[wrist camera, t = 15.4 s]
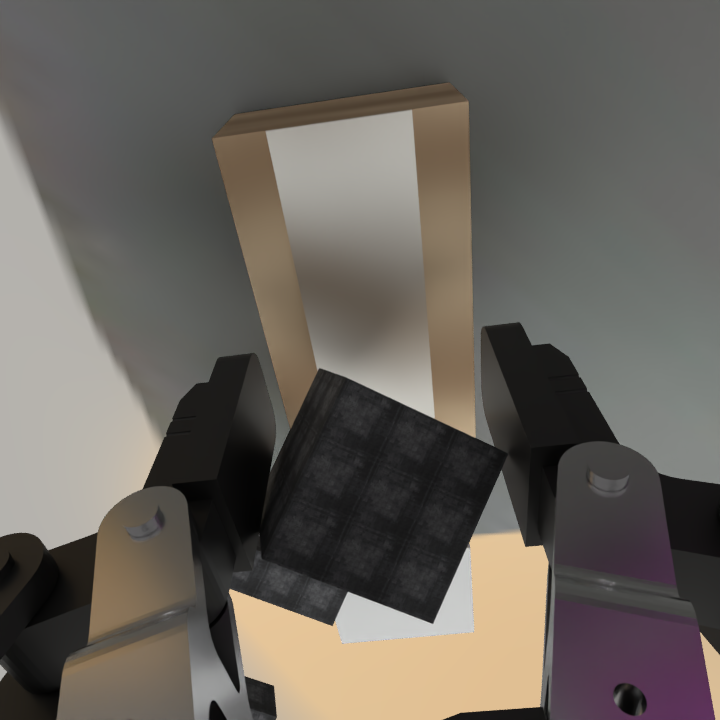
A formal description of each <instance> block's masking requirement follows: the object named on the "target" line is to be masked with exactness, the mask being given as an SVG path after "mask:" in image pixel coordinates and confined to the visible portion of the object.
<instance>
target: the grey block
mask: <svg viewBox="0 0 720 720" xmlns="http://www.w3.org/2000/svg"><path fill="white" fill-rule="evenodd" d="M470 558H471V557H470V545H469V544H468V546H467V548H466V551H465V553H464V555H463V557H462V560H461V562H460V564H459V567H458V569H457V571H456V573H455V576H454V578H453V580H452V582H451V585H450V587H449V589H448V591H447V594H446V596H445V598H444V600H443V603H442V605H441V607H440V609H439V612H438V614H437V616H436V619H435V621H434V623H433V624H431V623H429V622H426V621H424V620H421V619H418V618H416V617H413V616H410V615H408V614H405V613H402V612H400V611H397V610H395V609H392V608H389V607H387V606H384V605H381V604H379V603H376V602H374V601H371V600H368V599H366V598H363V597H360V596H358V595H355V594H352V593H350V592H348V593H347V595H346V597H345V599H344V601H343V604H342V606H341V608H340V610H339V613H338V615H337V617H336V619H335V622H336V625H337V628H338V631H339V635H340V638H341V641H342V644H344V643H355V642H366V641H377V640H389V639H401V638H412V637H424V636H435V635H447V634H457V633H469V632H474V620H473V598H472V577H471V559H470Z"/></svg>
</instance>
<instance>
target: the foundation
mask: <svg viewBox="0 0 720 720" xmlns="http://www.w3.org/2000/svg"><path fill="white" fill-rule="evenodd" d="M212 141H213V145H214V148H215V152H216V156H217V160H218V163H219V167H220V171H221V174H222V178H223V182H224V185H225V189H226V193H227V197H228V200H229V204H230V208H231V211H232V215H233V219H234V222H235V226H236V230H237V234H238V237H239V241H240V245H241V248H242V252H243V256H244V259H245V263H246V267H247V271H248V274H249V278H250V282H251V285H252V289H253V293H254V297H255V300H256V304H257V308H258V311H259V315H260V319H261V322H262V326H263V330H264V334H265V337H266V341H267V345H268V348H269V352H270V356H271V359H272V363H273V367H274V371H275V374H276V378H277V382H278V385H279V389H280V393H281V396H282V400H283V404H284V408H285V411H286V415H287V419H288V422H289V426H290V429H291V427H292V425H293V423H294V421H295V418H296V416H297V414H298V412H299V410H300V408H301V406H302V404H303V401H304V399H305V397H306V395H307V393H308V391H309V389H310V386H311V384H312V382H313V380H314V378H315V376H316V374H317V372H318V369H319V368H321V369H324V370H327V371H330V372H332V373H335V374H338V375H341V376H344V377H347V378H349V379H351V380H353V381H355V382H357V383H359V384H362V385H364V386H366V387H368V388H370V389H372V390H374V391H376V392H379V393H381V394H383V395H385V396H387V397H389V398H391V399H393V400H396V401H398V402H400V403H402V404H404V405H406V406H408V407H410V408H413V409H415V410H417V411H419V412H421V413H423V414H425V415H428V416H430V417H432V418H434V419H436V420H438V421H440V422H442V423H445V424H447V425H449V426H451V427H453V428H455V429H457V430H459V431H462V432H464V433H466V434H468V435H470V436H472V437H474V438H476V435H475V386H474V337H473V288H472V240H471V191H470V142H469V101H468V100H467V99H466V98H465V97H464V96H463V95H462V94H461V93H460V92H459V91H458V90H457V89H456V88H455V87H454V86H453V85H452V84H451V83H450V82H449V83H442V84H435V85H429V86H422V87H415V88H408V89H402V90H395V91H388V92H381V93H375V94H368V95H361V96H354V97H348V98H341V99H334V100H327V101H321V102H314V103H307V104H300V105H294V106H287V107H280V108H273V109H267V110H260V111H253V112H246V113H240V114H234V115H233V117H232V118H231V119H230V120H229V121H228V122H227V123H226V124H225V125H224V126H223V127H222V128H221V129H220V130H219V131H218V132H217V133H216V135H215V136H214V137H213V138H212Z"/></svg>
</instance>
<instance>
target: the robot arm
mask: <svg viewBox="0 0 720 720" xmlns="http://www.w3.org/2000/svg"><path fill="white" fill-rule="evenodd" d="M481 388H482V400H483V407H484V412H485V416H486V420H487V423H488V426H489V430H490V433H491V436H492V439H493V443H494V446H495V447H496V448H498V449H500V450H502V451H504V452H506V453H508V456H507V458H506V460H505V462H504V465H503V467H502V472H503V475H504V479H505V482H506V485H507V488H508V492H509V495H510V498H511V501H512V505H513V508H514V511H515V514H516V518H517V521H518V524H519V527H520V531H521V534H522V537H523V540H524V544H525V546H526V547H528V546H539V545H543V547H544V549H545V552H546V555H547V558H548V561H549V565H548V576H547V594H546V614H545V634H544V635H545V636H544V654H543V675H542V691H541V704H540V707H536V708H522V709H508V710H494V711H480V712H467V713H459V714H457V715H454V716H451V717H449V718H446V719H444V720H715V715H714V710H713V704H712V699H711V693H710V688H709V682H708V676H707V671H706V665H705V659H704V654H703V648H702V642H701V637H700V632H701V633H702V634H703V636H704V637H705V638H706V639H707V640H708V642H709V643H710V644H711V645H712V646H713V647H714V649H715V650H716V651H717V652H718V653H719V654H720V484H714V483H707V482H699V481H692V480H685V479H679V478H674V477H669V476H666V475H662V474H660V473H658V472H657V470H656V469H655V467H654V466H653V465H652V463H651V462H650V461H649V460H648V459H646V458H645V457H644V456H643V455H641V454H640V453H638V452H636V451H634V450H633V449H631V448H628V447H626V446H623V445H620V444H619V443H618V441H617V439H616V437H615V436H614V434H613V432H612V431H611V429H610V427H609V425H608V424H607V422H606V420H605V419H604V417H603V415H602V413H601V412H600V410H599V408H598V407H597V405H596V403H595V401H594V400H593V398H592V396H591V394H590V393H589V392H587V388H586V386H585V384H584V382H583V381H582V379H581V377H580V378H579V374H578V372H577V370H576V369H575V367H574V365H573V364H572V362H571V360H570V358H569V357H568V356H566V355H565V354H564V353H562V352H561V351H559V350H558V349H556V348H555V347H554V346H552V345H551V344H542V345H533V346H532V345H531V343H530V341H529V339H528V337H527V335H526V333H525V331H524V329H523V327H522V325H521V324H520V323H519V322H518V323H509V324H501V325H492V326H484V327H482V330H481ZM172 419H173V422H171V423H170V425H169V428H168V430H167V433H166V435H167V437H164V440H163V442H162V444H161V447H160V449H159V452H158V454H157V456H156V459H155V461H154V464H153V466H152V468H151V471H150V473H149V475H148V478H147V480H146V483H145V485H144V487H143V489H142V490H140V491H137V492H135V493H133V494H131V495H129V496H127V497H126V498H124V499H123V500H121V501H120V502H119V503H117V504H116V505H115V506H114V507H113V508H112V509H111V510H110V511H109V512H108V513H107V515H106V516H105V517H104V519H103V521H102V522H101V525H100V527H99V530H98V532H97V533H95V534H93V535H90V536H88V537H85V538H82V539H79V540H76V541H74V542H70V543H68V544H65V545H62V546H59V547H57V548H54V549H51V550H47V549H46V547H45V546H44V544H43V543H42V542H41V540H40V539H39V538H38V537H36V536H35V535H32V534H29V533H14V534H10V535H6V536H3V537H0V665H1V666H2V667H3V668H4V669H5V670H6V671H7V673H6V675H5V676H4V677H3V679H2V680H1V681H0V720H253V717H252V714H251V710H250V706H249V701H248V696H247V689H246V683H245V677H244V670H243V664H242V658H241V652H240V645H239V640H238V633H237V627H236V620H235V614H234V608H233V603H232V599H231V597H230V595H229V589H230V584H231V579H232V574H233V572H243V571H253V566H254V560H255V554H256V549H257V543H258V537H259V531H260V526H261V520H262V514H263V508H264V502H265V497H266V491H267V485H268V479H269V474H270V468H271V462H272V456H273V450H274V445H275V438H276V424H275V416H274V411H273V407H272V404H271V400H270V397H269V393H268V390H267V386H266V383H265V379H264V376H263V372H262V369H261V365H260V362H259V359H258V357H257V355H256V354H255V353H250V354H242V355H234V356H225V357H219V358H218V359H217V361H216V364H215V367H214V369H213V372H212V375H211V377H210V380H209V382H206V383H198V384H196V385H195V386H194V387H193V388H192V389H191V390H190V391H189V392H188V393H187V394H186V395H185V396H184V397H183V398H182V399H181V400H180V402H179V404H178V406H177V409H176V411H175V414H174V416H173V418H172Z"/></svg>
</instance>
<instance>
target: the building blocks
mask: <svg viewBox="0 0 720 720" xmlns="http://www.w3.org/2000/svg"><path fill="white" fill-rule="evenodd" d="M507 456H508V453H506V452H504V451H502V450H500V449H498V448H496V447H494V446H491V445H489V444H487V443H485V442H483V441H481V440H479V439H477V438H474V437H472V436H470V435H468V434H466V433H464V432H462V431H459V430H457V429H455V428H453V427H451V426H449V425H447V424H445V423H442V422H440V421H438V420H436V419H434V418H432V417H430V416H428V415H425V414H423V413H421V412H419V411H417V410H415V409H413V408H410V407H408V406H406V405H404V404H402V403H400V402H398V401H396V400H393V399H391V398H389V397H387V396H385V395H383V394H381V393H379V392H376V391H374V390H372V389H370V388H368V387H366V386H364V385H362V384H359V383H357V382H355V381H353V380H351V379H349V378H347V377H344V376H341V375H338V374H335V373H332V372H330V371H327V370H324V369H321V368H319V369H318V372H317V374H316V376H315V378H314V380H313V382H312V384H311V386H310V389H309V391H308V393H307V395H306V397H305V399H304V401H303V404H302V406H301V408H300V410H299V412H298V414H297V416H296V418H295V421H294V423H293V425H292V427H291V429H290V431H289V433H288V436H287V438H286V440H285V442H284V444H283V446H282V448H281V450H280V453H279V455H278V457H277V459H276V461H275V463H274V465H273V468H272V470H271V472H270V474H269V479H268V485H267V491H266V497H265V502H264V508H263V514H262V520H261V526H260V531H259V535H260V536H259V537H258V543H257V549H256V554H255V560H254V566H253V571H243V572H233V574H232V579H231V584H230V589H232V590H235V591H238V592H241V593H243V594H246V595H249V596H251V597H254V598H257V599H260V600H262V601H265V602H268V603H271V604H273V605H276V606H279V607H282V608H284V609H287V610H290V611H293V612H296V613H298V614H301V615H304V616H306V617H309V618H312V619H315V620H317V621H320V622H323V623H326V624H328V625H331V626H333V624H334V621H335V619H336V617H337V615H338V613H339V610H340V608H341V606H342V604H343V601H344V599H345V597H346V595H347V593H348V592H350V593H352V594H355V595H358V596H360V597H363V598H366V599H368V600H371V601H374V602H376V603H379V604H381V605H384V606H387V607H389V608H392V609H395V610H397V611H400V612H402V613H405V614H408V615H410V616H413V617H416V618H418V619H421V620H424V621H426V622H429V623H431V624H433V623H434V621H435V619H436V616H437V614H438V612H439V609H440V607H441V605H442V603H443V600H444V598H445V596H446V594H447V591H448V589H449V587H450V585H451V582H452V580H453V578H454V576H455V573H456V571H457V569H458V567H459V564H460V562H461V560H462V557H463V555H464V553H465V551H466V548H467V546H468V544H469V542H470V539H471V537H472V535H473V533H474V530H475V528H476V526H477V524H478V521H479V519H480V517H481V514H482V512H483V510H484V508H485V505H486V503H487V501H488V499H489V496H490V494H491V492H492V490H493V487H494V485H495V483H496V481H497V478H498V476H499V474H500V471H501V469H502V467H503V465H504V462H505V460H506V458H507ZM244 677H245V676H244ZM245 683H246V689H247V696H248V701H249V706H250V710H251V714H252V717H253V720H276V718H277V715H276V704H275V693H274V686H272V685H270V684H266V683H263V682H260V681H257V680H254V679H251V678H248V677H245Z"/></svg>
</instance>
